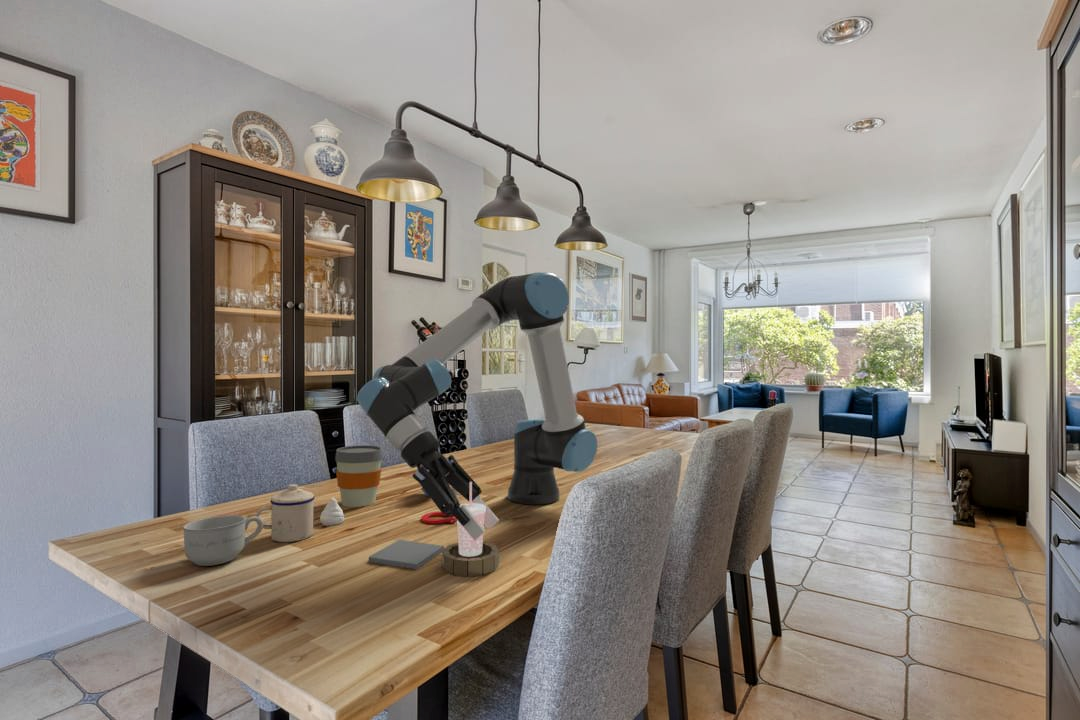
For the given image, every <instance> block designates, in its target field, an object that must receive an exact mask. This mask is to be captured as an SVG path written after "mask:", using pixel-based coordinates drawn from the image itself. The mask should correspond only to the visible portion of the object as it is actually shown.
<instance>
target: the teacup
mask: <svg viewBox="0 0 1080 720" xmlns="http://www.w3.org/2000/svg"><path fill="white" fill-rule="evenodd" d="M253 522H256V524H257V523H258V524H257V527H256V529H255V531H253V532H252V533H251V534H249V535H248V536H246V531H247V529H248V528H249V527H248V526H249V525H250V523H253ZM263 524H264V521H263V520H262V518H261V517H260V516H259V517H257V516H256V515H252V516H250V517H248V518H246V517H245V516H243V515H239V514H234V515H229V514H228V515H218V516H210V517H204V518H201V519H197V520H194V521H190V522H188V523H186V524H185V525H183V526H182V527H183V528H182V529H183V535H184V536H183V539H184V540H183V543H184V544H183V545H184V554H185V557H186V558H187V559H188V560H189V561H190V562H192V563H194V564H195V565H197V566H200V567H208V566H209V567H210V566H216V565H221V564H226V563H228V562H230V561H232V560H235V558H236V557H237V556H238V555H239V554H240V553H241V552H242V551H243V550H244V547H246V546H248V545H249V542H251V541H253V539H255V538H256V537H257V536H259V534H260V533H261V532H262V531H263V529H264V528H263Z"/></svg>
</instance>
